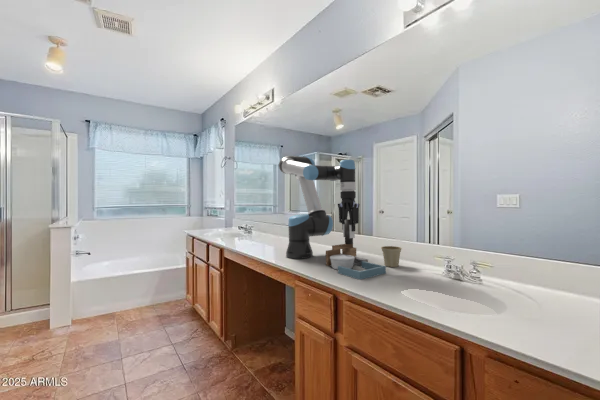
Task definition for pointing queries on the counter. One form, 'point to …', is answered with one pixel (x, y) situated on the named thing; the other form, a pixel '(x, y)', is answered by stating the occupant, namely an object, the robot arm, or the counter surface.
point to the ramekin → (342, 261)
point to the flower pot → (391, 255)
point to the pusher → (342, 246)
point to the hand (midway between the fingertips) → (348, 237)
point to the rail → (359, 261)
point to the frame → (370, 272)
